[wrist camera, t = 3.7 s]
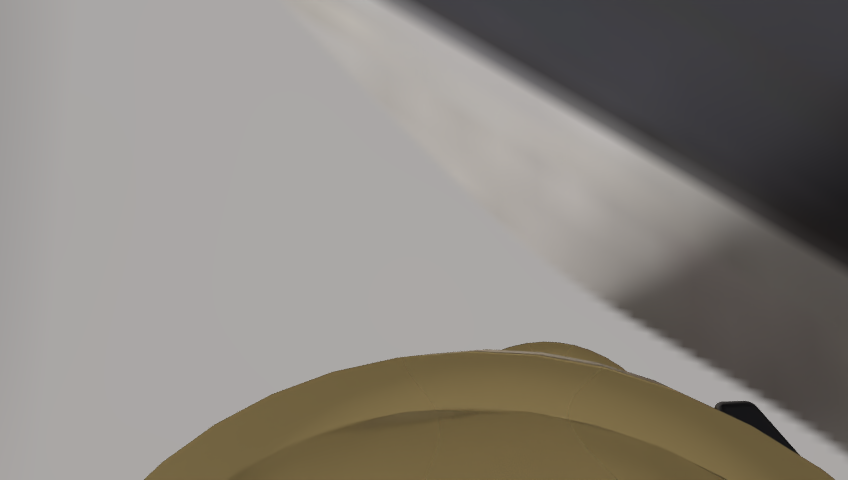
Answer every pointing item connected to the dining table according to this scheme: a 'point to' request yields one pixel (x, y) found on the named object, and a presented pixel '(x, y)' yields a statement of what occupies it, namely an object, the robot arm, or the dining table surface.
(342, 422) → the gold tall rounded piece
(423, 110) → the dining table surface
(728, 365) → the dining table surface
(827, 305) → the dining table surface
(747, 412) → the robot arm
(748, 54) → the dining table surface
